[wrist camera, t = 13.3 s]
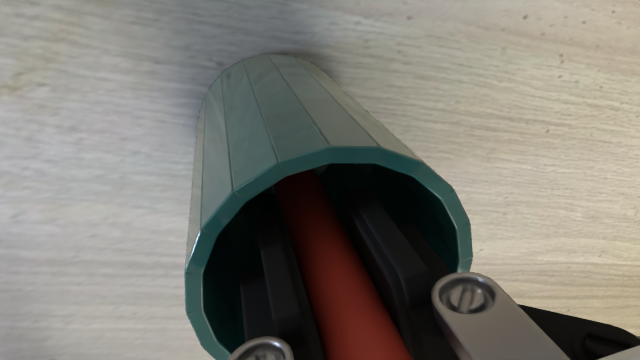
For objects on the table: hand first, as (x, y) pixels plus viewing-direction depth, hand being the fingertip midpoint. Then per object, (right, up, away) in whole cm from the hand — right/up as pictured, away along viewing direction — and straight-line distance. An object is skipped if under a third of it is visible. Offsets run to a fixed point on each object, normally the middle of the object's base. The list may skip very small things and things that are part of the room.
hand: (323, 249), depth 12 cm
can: (-2, +4, +9) cm, 10 cm away
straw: (-2, +3, +8) cm, 9 cm away
